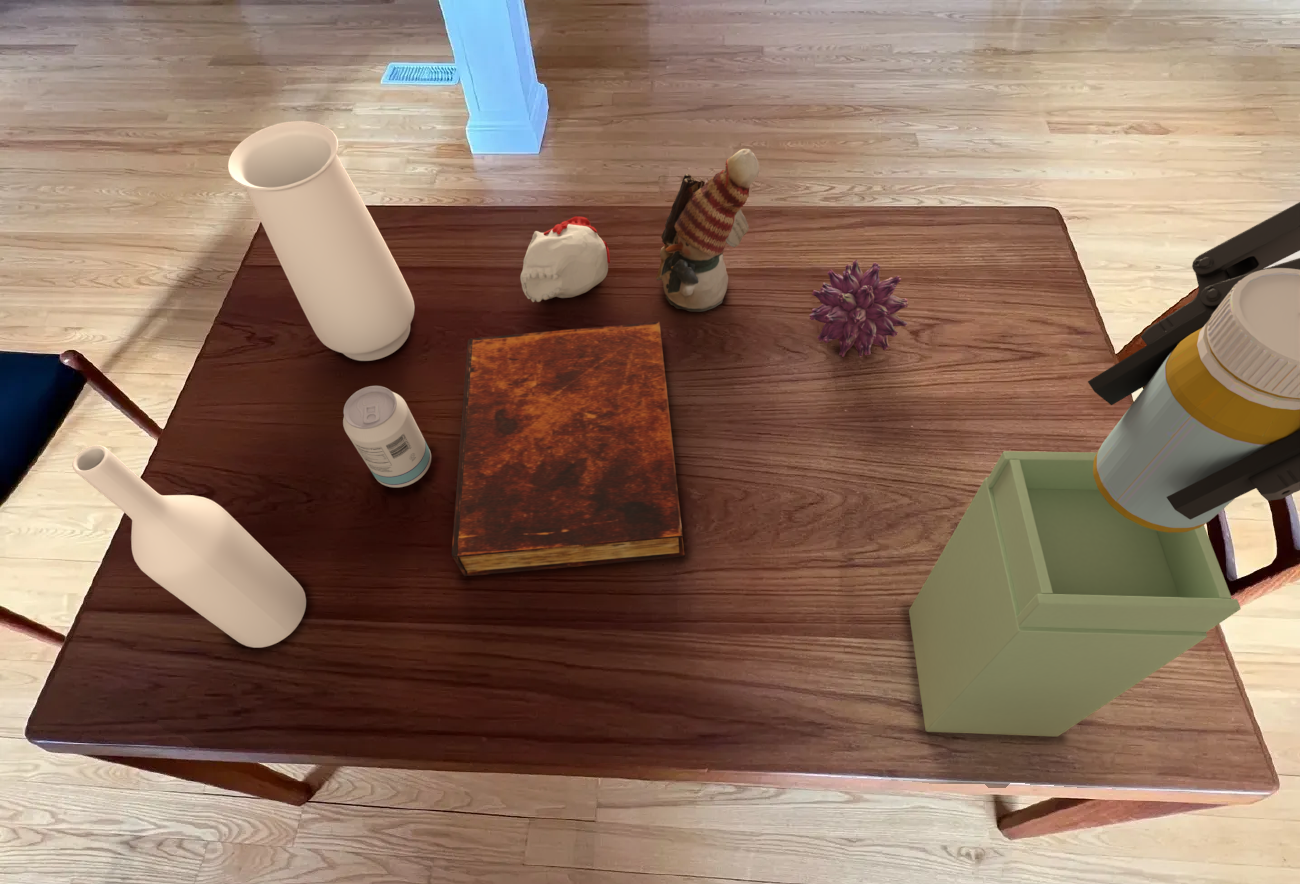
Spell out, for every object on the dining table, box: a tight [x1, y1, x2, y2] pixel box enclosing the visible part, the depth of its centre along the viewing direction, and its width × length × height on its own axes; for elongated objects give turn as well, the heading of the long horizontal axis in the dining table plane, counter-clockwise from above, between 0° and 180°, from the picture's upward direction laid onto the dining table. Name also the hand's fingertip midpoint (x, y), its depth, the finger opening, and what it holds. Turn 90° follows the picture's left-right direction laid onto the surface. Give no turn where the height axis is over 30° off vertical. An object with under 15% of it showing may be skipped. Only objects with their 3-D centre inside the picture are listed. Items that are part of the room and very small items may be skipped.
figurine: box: [655, 148, 760, 313], centre depth 99 cm, size 13×12×20 cm
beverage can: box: [342, 385, 432, 488], centre depth 89 cm, size 7×7×12 cm
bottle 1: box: [71, 444, 307, 649], centre depth 72 cm, size 8×8×30 cm
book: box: [451, 321, 686, 577], centre depth 91 cm, size 30×24×5 cm
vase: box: [227, 120, 416, 362], centre depth 94 cm, size 13×13×28 cm
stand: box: [908, 450, 1242, 738], centre depth 64 cm, size 12×12×30 cm
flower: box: [808, 259, 909, 358], centre depth 96 cm, size 12×12×12 cm
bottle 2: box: [1093, 268, 1300, 533], centre depth 42 cm, size 7×7×15 cm
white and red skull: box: [519, 215, 611, 303], centre depth 106 cm, size 9×11×15 cm
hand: (1137, 448), depth 43 cm, fingers closed on bottle 2, 7 cm apart
